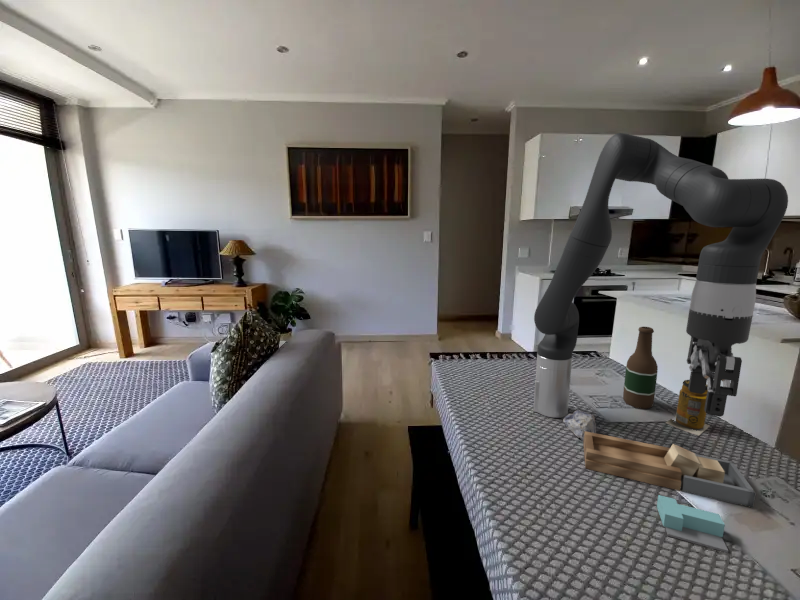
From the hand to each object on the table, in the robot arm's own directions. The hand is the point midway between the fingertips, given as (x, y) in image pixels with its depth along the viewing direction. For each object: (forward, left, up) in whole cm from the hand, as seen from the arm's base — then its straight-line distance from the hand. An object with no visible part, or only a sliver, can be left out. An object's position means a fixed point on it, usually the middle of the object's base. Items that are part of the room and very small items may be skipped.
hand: (704, 402), depth 59 cm
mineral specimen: (-16, +24, -24) cm, 38 cm away
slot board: (-7, +14, -23) cm, 28 cm away
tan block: (+7, +14, -23) cm, 27 cm away
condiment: (+10, +40, -24) cm, 47 cm away
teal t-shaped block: (-4, -1, -22) cm, 22 cm away
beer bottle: (0, +49, -23) cm, 54 cm away
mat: (0, -1, -23) cm, 23 cm away
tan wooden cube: (+2, +14, -21) cm, 26 cm away
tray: (+7, +14, -23) cm, 28 cm away
